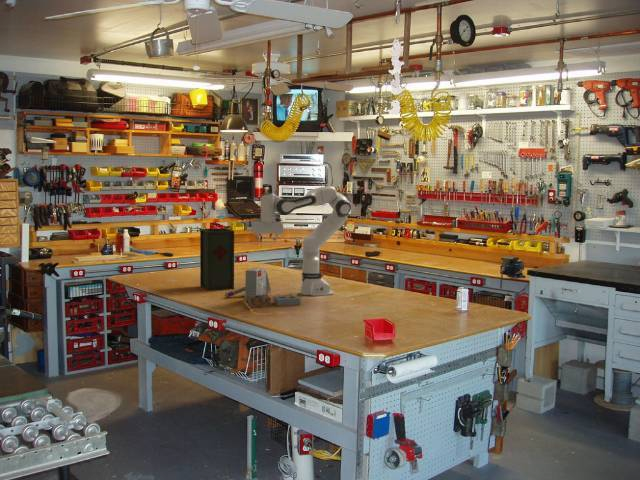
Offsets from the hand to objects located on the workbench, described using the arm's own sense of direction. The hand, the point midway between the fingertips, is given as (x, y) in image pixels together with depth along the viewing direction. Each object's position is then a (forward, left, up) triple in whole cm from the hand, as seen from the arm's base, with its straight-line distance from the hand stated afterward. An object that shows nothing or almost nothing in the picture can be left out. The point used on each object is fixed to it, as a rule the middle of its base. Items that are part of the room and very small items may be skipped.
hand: (267, 240), depth 409 cm
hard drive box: (+8, +4, -37) cm, 38 cm away
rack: (+9, +22, -37) cm, 44 cm away
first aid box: (+26, -44, -37) cm, 63 cm away
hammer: (+11, -12, -37) cm, 41 cm away
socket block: (-8, +22, -37) cm, 44 cm away
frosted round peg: (+9, +22, -35) cm, 43 cm away
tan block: (-12, +22, -36) cm, 44 cm away
